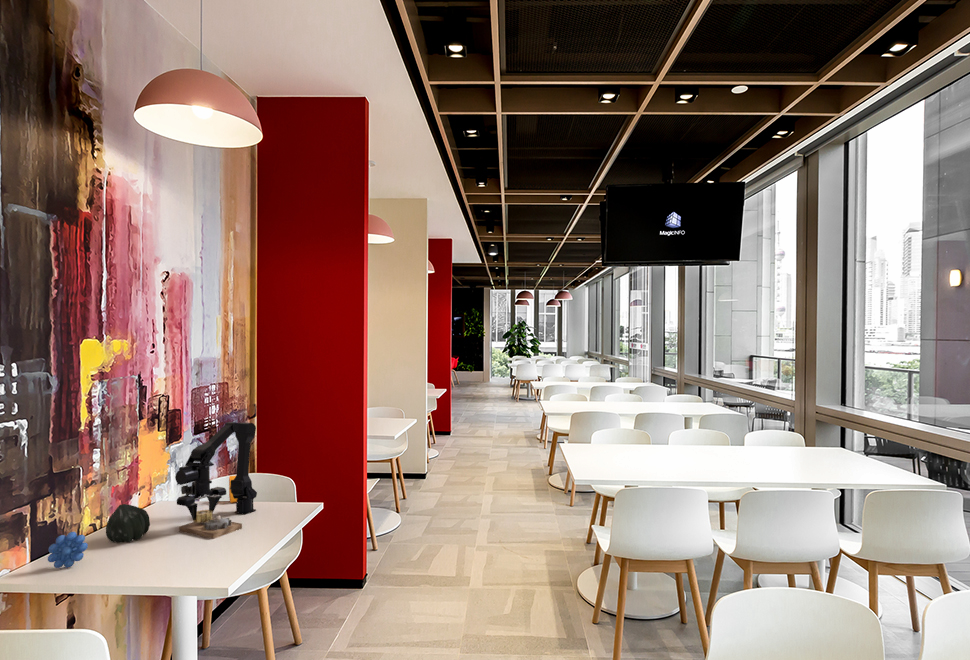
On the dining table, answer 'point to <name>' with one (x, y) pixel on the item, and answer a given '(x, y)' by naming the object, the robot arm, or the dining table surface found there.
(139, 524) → the squash
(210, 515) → the brass gear
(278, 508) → the dining table surface
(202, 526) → the gear board
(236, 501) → the bracket
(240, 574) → the dining table surface
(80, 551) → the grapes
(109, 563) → the dining table surface
